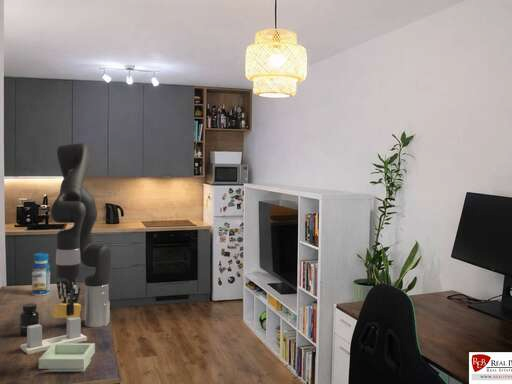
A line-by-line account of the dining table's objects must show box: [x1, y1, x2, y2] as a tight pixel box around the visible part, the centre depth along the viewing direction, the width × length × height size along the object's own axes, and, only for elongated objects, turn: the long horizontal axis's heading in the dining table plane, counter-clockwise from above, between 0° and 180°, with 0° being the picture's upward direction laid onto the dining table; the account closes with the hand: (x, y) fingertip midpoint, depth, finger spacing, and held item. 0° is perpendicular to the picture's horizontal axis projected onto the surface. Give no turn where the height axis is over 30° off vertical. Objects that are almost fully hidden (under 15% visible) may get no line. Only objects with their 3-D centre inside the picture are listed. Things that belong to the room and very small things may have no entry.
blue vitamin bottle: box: [31, 252, 51, 297], centre depth 250 cm, size 8×8×20 cm
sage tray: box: [38, 342, 96, 373], centre depth 166 cm, size 14×14×4 cm
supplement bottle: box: [19, 302, 40, 338], centre depth 190 cm, size 7×7×12 cm
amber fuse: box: [51, 302, 82, 319], centre depth 165 cm, size 4×3×8 cm
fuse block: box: [20, 333, 88, 355], centre depth 180 cm, size 21×7×2 cm, turn 134°
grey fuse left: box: [26, 323, 43, 348], centre depth 175 cm, size 4×3×8 cm
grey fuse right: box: [66, 317, 82, 339], centre depth 185 cm, size 4×3×8 cm
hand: (67, 313), depth 166 cm, fingers closed on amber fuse, 2 cm apart
